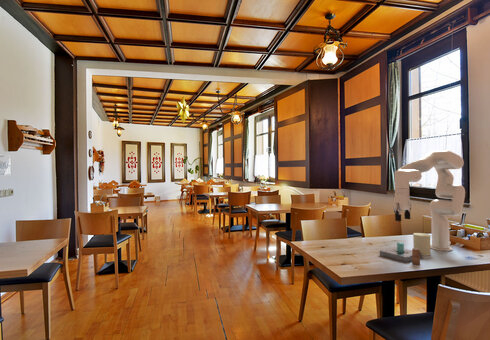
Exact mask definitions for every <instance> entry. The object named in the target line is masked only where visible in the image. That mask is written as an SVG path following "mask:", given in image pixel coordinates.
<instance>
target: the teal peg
mask: <svg viewBox="0 0 490 340" xmlns="http://www.w3.org/2000/svg"><path fill="white" fill-rule="evenodd" d="M404 246H405V244H404V243H403V242H397V243H396V247H397V252H399V253H404V249H405V247H404Z"/></svg>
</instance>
